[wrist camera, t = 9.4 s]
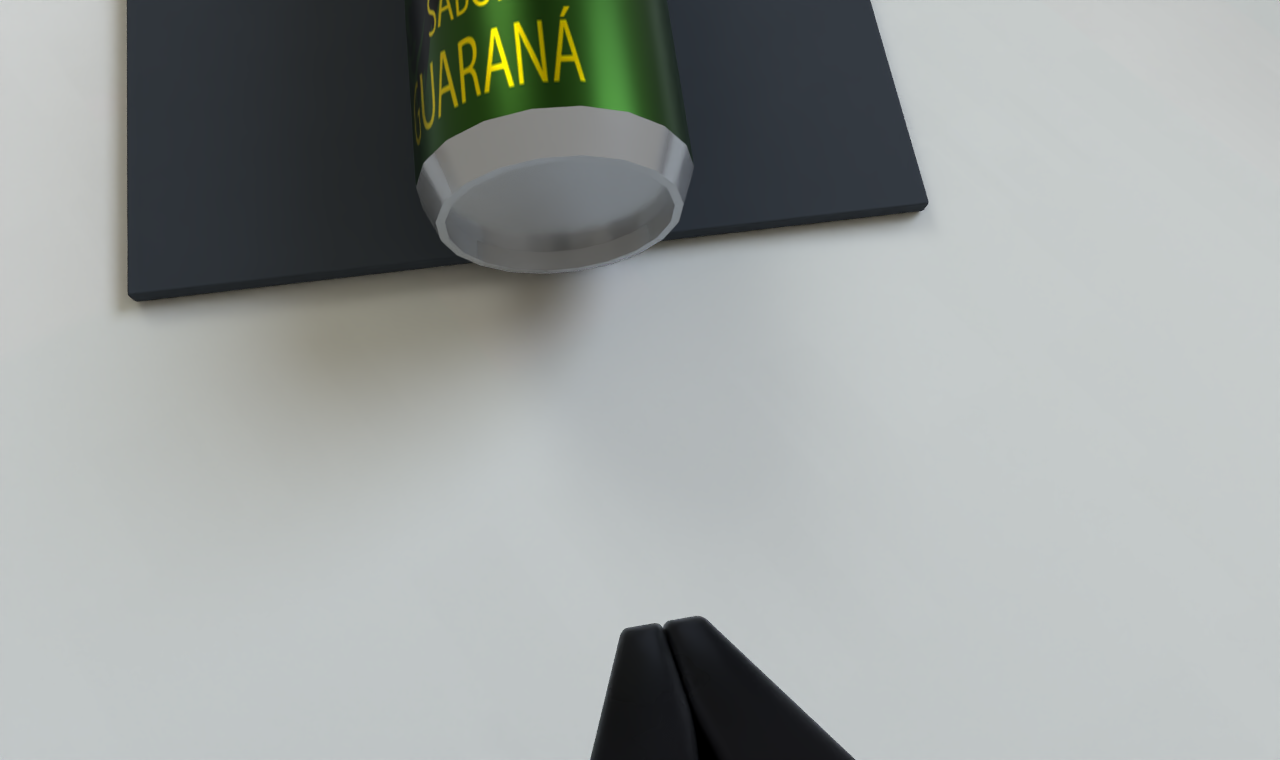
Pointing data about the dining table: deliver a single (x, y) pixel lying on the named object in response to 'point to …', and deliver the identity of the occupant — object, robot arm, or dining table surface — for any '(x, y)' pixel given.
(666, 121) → the guarana soda can
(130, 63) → the mat
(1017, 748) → the dining table surface
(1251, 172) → the dining table surface
